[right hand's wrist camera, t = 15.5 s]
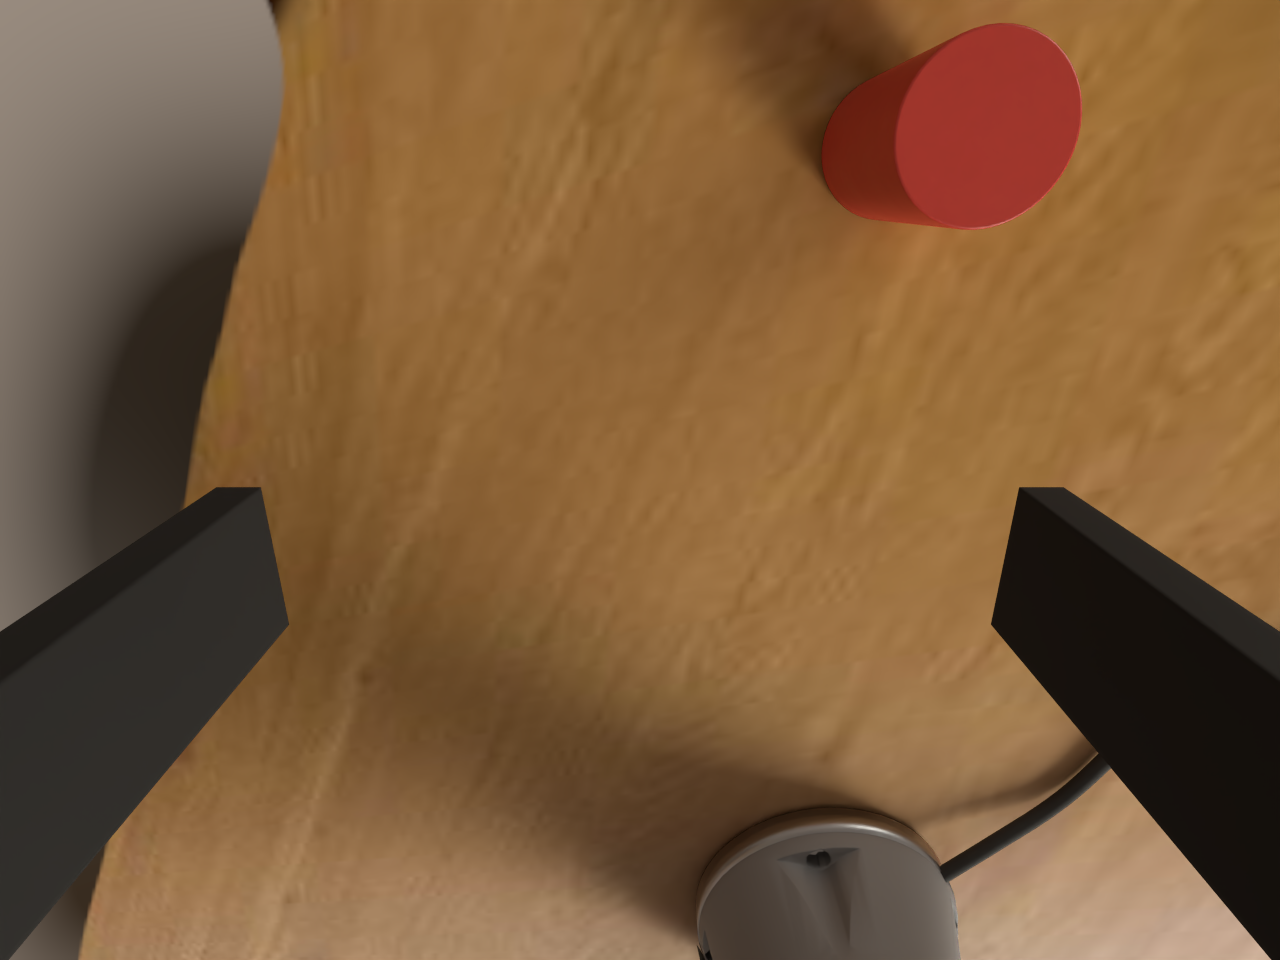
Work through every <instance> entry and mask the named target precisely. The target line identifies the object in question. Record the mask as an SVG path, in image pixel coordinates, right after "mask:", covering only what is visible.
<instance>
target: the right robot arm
mask: <svg viewBox="0 0 1280 960" xmlns="http://www.w3.org/2000/svg"><path fill="white" fill-rule="evenodd" d="M288 625H289V622H288V617H287V612H286V607H285V603H284V598H283V593H282V588H281V583H280V578H279V573H278V569H277V564H276V559H275V554H274V549H273V544H272V540H271V535H270V530H269V525H268V520H267V515H266V510H265V506H264V501H263V496H262V491H261V487H216V488H215V489H213V490H212V491H210V492H209V493H207V494H206V495H204V496H203V497H201V498H200V499H198V500H197V501H195V502H194V503H192V504H191V505H189V506H188V507H186V508H185V509H183V510H182V511H180V512H179V513H177V514H176V515H174V516H173V517H171V518H170V519H168V520H167V521H165V522H164V523H162V524H161V525H159V526H158V527H156V528H155V529H153V530H152V531H150V532H149V533H147V534H146V535H145V536H143V537H142V538H140V539H138V540H137V541H135V542H134V543H132V544H131V545H130V546H128V547H126V548H125V549H123V550H122V551H120V552H119V553H118V554H116V555H114V556H113V557H111V558H110V559H109V560H107V561H106V562H104V563H103V564H101V565H100V566H98V567H97V568H95V569H94V570H92V571H91V572H89V573H88V574H86V575H85V576H83V577H82V578H80V579H79V580H77V581H76V582H74V583H73V584H71V585H70V586H68V587H67V588H65V589H64V590H62V591H61V592H59V593H58V594H56V595H55V596H53V597H52V598H50V599H49V600H47V601H46V602H44V603H43V604H41V605H40V606H38V607H37V608H35V609H34V610H32V611H31V612H29V613H28V614H26V615H25V616H23V617H22V618H20V619H19V620H17V621H16V622H14V623H13V624H11V625H10V626H8V627H7V628H5V629H4V630H2V631H1V632H0V960H9V959H10V957H11V956H12V955H13V954H14V953H15V951H16V950H17V949H18V948H19V947H20V945H21V944H22V943H23V942H24V941H25V940H26V938H27V937H28V936H29V935H30V934H31V932H32V931H33V930H34V929H35V928H36V926H37V925H38V924H39V923H40V922H41V920H42V919H43V918H44V917H45V916H46V914H47V913H48V912H49V911H50V910H51V908H52V907H53V906H54V905H55V904H56V902H57V901H58V900H59V899H60V898H61V896H62V895H63V894H64V893H65V892H66V890H67V889H68V888H69V887H70V886H71V885H72V883H73V882H74V881H75V880H76V878H77V877H78V876H79V875H80V874H81V873H82V871H83V870H84V869H85V868H86V867H87V865H88V864H89V863H90V862H91V861H92V859H93V858H94V857H95V856H96V855H97V853H98V852H99V851H100V850H101V849H102V847H103V846H104V845H105V844H106V843H107V841H108V840H109V839H110V838H111V837H112V835H113V834H114V833H115V832H116V831H117V830H118V828H119V827H120V826H121V825H122V824H123V822H124V821H125V820H126V819H127V818H128V816H129V815H130V814H131V813H132V812H133V810H134V809H135V808H136V807H137V806H138V804H139V803H140V802H141V801H142V800H143V798H144V797H145V796H146V795H147V794H148V792H149V791H150V790H151V789H152V788H153V786H154V785H155V784H156V783H157V782H158V780H159V779H160V778H161V777H162V776H163V775H164V773H165V772H166V771H167V770H168V769H169V767H170V766H171V765H172V764H173V763H174V761H175V760H176V759H177V758H178V757H179V755H180V754H181V753H182V752H183V751H184V749H185V748H186V747H187V746H188V745H189V743H190V742H191V741H192V740H193V739H194V737H195V736H196V735H197V734H198V733H199V731H200V730H201V729H202V728H203V727H204V725H205V724H206V723H207V722H208V721H209V719H210V718H211V717H212V716H213V715H214V714H215V712H216V711H217V710H218V709H219V708H220V706H221V705H222V704H223V703H224V702H225V700H226V699H227V698H228V697H229V696H230V694H231V693H232V692H233V691H234V690H235V688H236V687H237V686H238V685H239V684H240V682H241V681H242V680H243V679H244V678H245V676H246V675H247V674H248V673H249V672H250V670H251V669H252V668H253V667H254V666H255V664H256V663H257V662H258V661H259V660H260V658H261V657H262V656H263V655H264V654H265V653H266V651H267V650H268V649H269V648H270V647H271V645H272V644H273V643H274V642H275V641H276V639H277V638H278V637H279V636H280V635H281V633H282V632H283V631H284V630H285V629H286V627H287V626H288ZM991 625H992V626H993V627H994V629H995V630H996V631H997V632H998V633H999V635H1000V636H1001V637H1002V638H1003V639H1004V641H1005V642H1006V643H1007V644H1008V645H1009V647H1010V648H1011V649H1012V650H1013V651H1014V653H1015V654H1016V655H1017V656H1018V657H1019V658H1020V660H1021V661H1022V662H1023V663H1024V664H1025V666H1026V667H1027V668H1028V669H1029V670H1030V672H1031V673H1032V674H1033V675H1034V676H1035V678H1036V679H1037V680H1038V681H1039V682H1040V684H1041V685H1042V686H1043V687H1044V688H1045V690H1046V691H1047V692H1048V693H1049V694H1050V696H1051V697H1052V698H1053V699H1054V700H1055V702H1056V703H1057V704H1058V705H1059V706H1060V708H1061V709H1062V710H1063V711H1064V712H1065V714H1066V715H1067V716H1068V717H1069V718H1070V719H1071V721H1072V722H1073V723H1074V724H1075V725H1076V727H1077V728H1078V729H1079V730H1080V731H1081V733H1082V734H1083V735H1084V736H1085V737H1086V739H1087V740H1088V741H1089V742H1090V743H1091V745H1092V746H1093V747H1094V748H1095V749H1096V751H1097V752H1098V753H1099V754H1098V755H1097V756H1096V757H1095V758H1094V759H1093V760H1091V761H1090V762H1089V763H1088V764H1087V765H1086V766H1085V767H1084V768H1083V769H1082V770H1081V771H1080V772H1079V773H1078V774H1077V775H1076V776H1074V777H1073V778H1072V779H1071V780H1070V781H1069V782H1068V783H1066V784H1065V785H1064V786H1063V787H1062V788H1060V789H1059V790H1058V791H1057V792H1055V793H1054V794H1053V795H1051V796H1050V797H1049V798H1047V799H1046V800H1045V801H1043V802H1042V803H1040V804H1039V805H1037V806H1036V807H1034V808H1033V809H1032V810H1030V811H1028V812H1027V813H1025V814H1024V815H1022V816H1021V817H1019V818H1017V819H1016V820H1014V821H1013V822H1011V823H1009V824H1008V825H1006V826H1004V827H1003V828H1001V829H1000V830H998V831H996V832H995V833H993V834H991V835H990V836H988V837H987V838H985V839H983V840H982V841H980V842H979V843H977V844H975V845H974V846H972V847H970V848H969V849H967V850H966V851H964V852H962V853H961V854H959V855H957V856H956V857H954V858H952V859H951V860H949V861H947V862H946V863H944V864H943V865H941V863H940V861H939V859H938V857H937V856H936V854H935V852H934V851H933V850H932V848H931V847H930V846H929V845H928V843H927V842H926V841H925V840H924V839H923V838H922V837H920V836H919V835H918V834H917V833H915V832H914V831H913V830H911V829H909V828H908V827H906V826H905V825H903V824H901V823H899V822H897V821H895V820H893V819H890V818H887V817H885V816H882V815H879V814H875V813H872V812H867V811H862V810H856V809H847V808H817V809H808V810H802V811H796V812H792V813H788V814H784V815H780V816H778V817H775V818H772V819H769V820H766V821H764V822H762V823H759V824H757V825H755V826H753V827H752V828H750V829H748V830H746V831H744V832H743V833H741V834H740V835H738V836H737V837H735V838H734V839H733V840H731V841H730V842H729V843H728V844H726V845H725V846H724V847H723V848H722V849H721V850H720V851H719V852H718V853H717V854H716V856H715V857H714V858H713V859H712V860H711V862H710V863H709V865H708V866H707V868H706V870H705V871H704V873H703V875H702V877H701V880H700V883H699V886H698V890H697V894H696V918H697V931H698V939H699V944H700V947H701V951H702V952H701V951H700V949H699V947H698V946H697V948H698V952H699V957H700V960H961V957H960V950H959V942H958V914H957V908H956V901H955V897H954V893H953V890H952V888H951V886H950V883H949V881H951V880H952V879H954V878H956V877H957V876H959V875H961V874H962V873H964V872H966V871H967V870H969V869H970V868H972V867H974V866H975V865H977V864H979V863H980V862H982V861H984V860H985V859H987V858H989V857H990V856H992V855H993V854H995V853H997V852H998V851H1000V850H1001V849H1003V848H1005V847H1006V846H1008V845H1010V844H1011V843H1013V842H1014V841H1016V840H1018V839H1019V838H1021V837H1023V836H1024V835H1026V834H1027V833H1029V832H1031V831H1032V830H1034V829H1035V828H1037V827H1039V826H1040V825H1042V824H1043V823H1045V822H1046V821H1048V820H1049V819H1051V818H1052V817H1053V816H1055V815H1056V814H1058V813H1059V812H1060V811H1062V810H1063V809H1064V808H1066V807H1067V806H1068V805H1070V804H1071V803H1072V802H1074V801H1075V800H1076V799H1077V798H1078V797H1080V796H1081V795H1082V794H1083V793H1084V792H1085V791H1087V790H1088V789H1089V788H1090V787H1091V786H1092V785H1093V784H1094V783H1096V782H1097V781H1098V780H1099V779H1100V778H1101V777H1102V776H1103V775H1104V774H1105V773H1106V772H1107V771H1108V770H1109V769H1110V768H1111V769H1112V770H1113V771H1114V772H1115V773H1116V775H1117V776H1118V777H1119V778H1120V779H1121V780H1122V782H1123V783H1124V784H1125V785H1126V786H1127V788H1128V789H1129V790H1130V791H1131V792H1132V794H1133V795H1134V796H1135V797H1136V798H1137V800H1138V801H1139V802H1140V803H1141V804H1142V806H1143V807H1144V808H1145V809H1146V810H1147V812H1148V813H1149V814H1150V815H1151V816H1152V818H1153V819H1154V820H1155V821H1156V822H1157V824H1158V825H1159V826H1160V827H1161V828H1162V830H1163V831H1164V832H1165V833H1166V834H1167V836H1168V837H1169V838H1170V839H1171V840H1172V841H1173V843H1174V844H1175V845H1176V846H1177V847H1178V849H1179V850H1180V851H1181V852H1182V853H1183V855H1184V856H1185V857H1186V858H1187V859H1188V861H1189V862H1190V863H1191V864H1192V865H1193V867H1194V868H1195V869H1196V870H1197V871H1198V873H1199V874H1200V875H1201V876H1202V877H1203V879H1204V880H1205V881H1206V882H1207V883H1208V885H1209V886H1210V887H1211V888H1212V889H1213V891H1214V892H1215V893H1216V894H1217V895H1218V896H1219V898H1220V899H1221V900H1222V901H1223V902H1224V904H1225V905H1226V906H1227V907H1228V908H1229V910H1230V911H1231V912H1232V913H1233V914H1234V916H1235V917H1236V918H1237V919H1238V920H1239V922H1240V923H1241V924H1242V925H1243V926H1244V928H1245V929H1246V930H1247V931H1248V932H1249V934H1250V935H1251V936H1252V937H1253V938H1254V940H1255V941H1256V942H1257V943H1258V944H1259V946H1260V947H1261V948H1262V949H1263V950H1264V952H1265V953H1266V954H1267V955H1268V956H1269V957H1270V959H1271V960H1280V632H1279V631H1278V630H1276V629H1275V628H1273V627H1272V626H1270V625H1269V624H1267V623H1266V622H1264V621H1263V620H1261V619H1260V618H1258V617H1257V616H1255V615H1254V614H1252V613H1251V612H1249V611H1248V610H1246V609H1245V608H1243V607H1242V606H1240V605H1239V604H1237V603H1236V602H1234V601H1233V600H1231V599H1230V598H1228V597H1227V596H1225V595H1224V594H1222V593H1221V592H1219V591H1218V590H1216V589H1215V588H1213V587H1212V586H1210V585H1209V584H1207V583H1206V582H1204V581H1203V580H1201V579H1200V578H1198V577H1197V576H1195V575H1194V574H1192V573H1191V572H1189V571H1188V570H1186V569H1185V568H1183V567H1182V566H1180V565H1179V564H1177V563H1176V562H1174V561H1173V560H1171V559H1170V558H1169V557H1167V556H1166V555H1164V554H1163V553H1161V552H1160V551H1158V550H1157V549H1155V548H1154V547H1152V546H1151V545H1149V544H1148V543H1146V542H1145V541H1143V540H1142V539H1140V538H1139V537H1137V536H1136V535H1134V534H1133V533H1131V532H1130V531H1128V530H1127V529H1125V528H1124V527H1122V526H1121V525H1119V524H1118V523H1116V522H1115V521H1113V520H1112V519H1110V518H1109V517H1107V516H1106V515H1104V514H1103V513H1101V512H1100V511H1098V510H1097V509H1095V508H1094V507H1092V506H1091V505H1089V504H1088V503H1086V502H1085V501H1083V500H1082V499H1080V498H1079V497H1077V496H1076V495H1074V494H1073V493H1071V492H1070V491H1068V490H1067V489H1065V488H1064V487H1019V491H1018V496H1017V501H1016V506H1015V510H1014V515H1013V520H1012V525H1011V530H1010V535H1009V540H1008V544H1007V549H1006V554H1005V559H1004V564H1003V569H1002V573H1001V578H1000V583H999V588H998V593H997V598H996V603H995V607H994V612H993V617H992V622H991ZM702 953H703V954H702Z"/></svg>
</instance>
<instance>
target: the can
mask: <svg viewBox="0 0 1280 960" xmlns="http://www.w3.org/2000/svg"><path fill="white" fill-rule="evenodd" d="M1081 118H1082V98H1081V91H1080V86H1079V82H1078V78H1077V75H1076V73H1075V70H1074V68H1073V66H1072V64H1071V62H1070V60H1069V59H1068V57H1067V56H1066V54H1065V53H1064V52H1063V50H1062V49H1061V48H1060V47H1059V46H1058V45H1057V44H1056V43H1055V42H1054V41H1052V40H1051V39H1050V38H1049V37H1048V36H1046V35H1044V34H1043V33H1041V32H1039V31H1037V30H1035V29H1032V28H1029V27H1027V26H1023V25H1018V24H1011V23H998V24H989V25H984V26H981V27H977V28H974V29H971V30H969V31H966V32H964V33H962V34H960V35H958V36H956V37H954V38H952V39H950V40H948V41H946V42H944V43H942V44H940V45H938V46H936V47H934V48H932V49H930V50H928V51H926V52H924V53H922V54H920V55H918V56H916V57H914V58H912V59H910V60H908V61H906V62H904V63H902V64H900V65H898V66H896V67H894V68H892V69H890V70H888V71H886V72H884V73H882V74H880V75H878V76H876V77H874V78H872V79H870V80H868V81H866V82H864V83H862V84H861V85H859V86H858V87H856V88H855V89H854V90H852V91H851V92H850V93H849V94H848V95H847V96H846V97H845V98H844V99H843V101H842V102H841V103H840V104H839V105H838V107H837V108H836V110H835V112H834V113H833V115H832V117H831V119H830V121H829V123H828V126H827V128H826V131H825V135H824V139H823V145H822V167H823V173H824V176H825V180H826V182H827V185H828V187H829V189H830V191H831V192H832V194H833V196H834V197H835V198H836V199H837V201H838V202H839V203H840V204H841V205H842V206H843V207H844V208H846V209H847V210H849V211H850V212H852V213H854V214H856V215H858V216H861V217H864V218H867V219H873V220H882V221H891V222H900V223H909V224H918V225H927V226H936V227H945V228H954V229H965V230H976V229H985V228H990V227H994V226H998V225H1000V224H1003V223H1006V222H1008V221H1010V220H1012V219H1014V218H1016V217H1018V216H1020V215H1021V214H1023V213H1024V212H1026V211H1027V210H1029V209H1030V208H1032V207H1033V206H1034V205H1035V204H1036V203H1038V202H1039V201H1040V200H1041V199H1042V198H1043V197H1044V196H1045V195H1046V194H1047V193H1048V192H1049V191H1050V190H1051V189H1052V187H1053V186H1054V185H1055V183H1056V182H1057V181H1058V179H1059V178H1060V176H1061V175H1062V173H1063V172H1064V170H1065V168H1066V167H1067V165H1068V163H1069V161H1070V158H1071V156H1072V154H1073V152H1074V149H1075V146H1076V143H1077V140H1078V136H1079V131H1080V126H1081Z"/></svg>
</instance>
